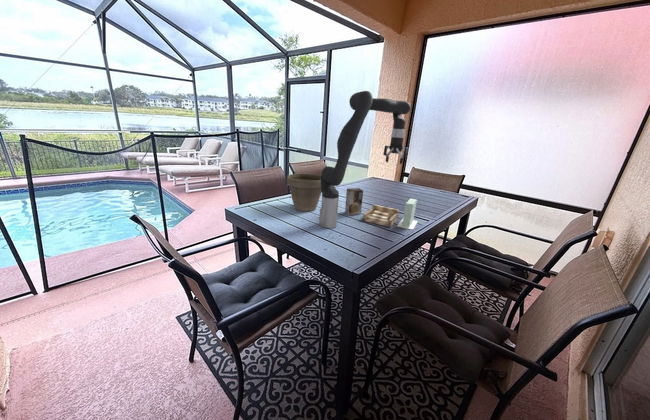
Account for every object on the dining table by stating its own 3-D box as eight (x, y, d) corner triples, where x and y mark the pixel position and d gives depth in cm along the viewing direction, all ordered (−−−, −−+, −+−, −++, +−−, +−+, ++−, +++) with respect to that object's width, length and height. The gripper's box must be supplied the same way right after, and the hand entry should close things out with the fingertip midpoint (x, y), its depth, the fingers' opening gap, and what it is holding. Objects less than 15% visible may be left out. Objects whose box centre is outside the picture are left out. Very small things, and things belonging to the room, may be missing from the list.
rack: (363, 220, 153) (364, 211, 151) (372, 212, 167) (373, 204, 165) (390, 227, 146) (391, 217, 144) (397, 218, 160) (399, 209, 158)
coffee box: (357, 211, 169) (359, 187, 164) (361, 214, 164) (363, 190, 158) (344, 211, 167) (346, 188, 161) (348, 215, 161) (350, 190, 155)
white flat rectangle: (397, 226, 147) (397, 225, 147) (403, 218, 161) (403, 217, 160) (412, 230, 143) (412, 229, 143) (417, 221, 157) (418, 221, 156)
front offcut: (370, 220, 154) (371, 214, 153) (373, 219, 156) (373, 213, 155) (384, 224, 149) (385, 218, 148) (386, 223, 152) (387, 217, 150)
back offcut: (372, 219, 157) (373, 211, 155) (374, 217, 159) (375, 210, 158) (386, 222, 152) (387, 215, 151) (388, 221, 155) (389, 213, 153)
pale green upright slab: (406, 219, 158) (410, 198, 153) (413, 221, 156) (417, 199, 151) (402, 225, 148) (405, 203, 143) (409, 227, 146) (413, 204, 141)
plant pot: (308, 200, 186) (309, 171, 179) (331, 209, 169) (333, 178, 162) (279, 206, 170) (279, 174, 163) (302, 217, 153) (302, 182, 146)
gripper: (410, 137, 154) (406, 163, 159) (388, 135, 161) (384, 161, 166) (407, 137, 148) (403, 165, 153) (384, 136, 154) (381, 162, 160)
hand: (393, 163), depth 160 cm, fingers open, 8 cm apart
